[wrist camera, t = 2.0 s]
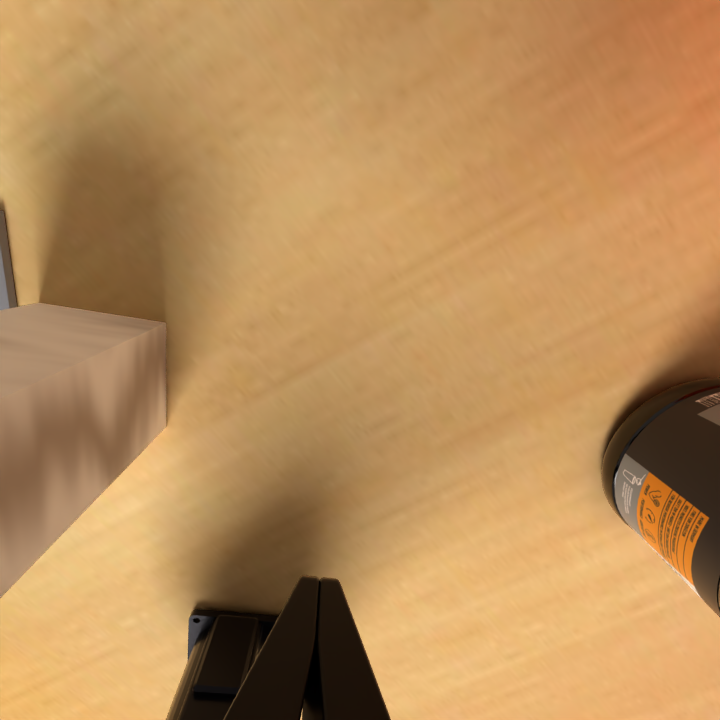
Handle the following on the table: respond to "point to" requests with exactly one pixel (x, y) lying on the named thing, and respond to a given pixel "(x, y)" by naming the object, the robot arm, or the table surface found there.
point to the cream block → (70, 418)
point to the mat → (5, 270)
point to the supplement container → (673, 481)
